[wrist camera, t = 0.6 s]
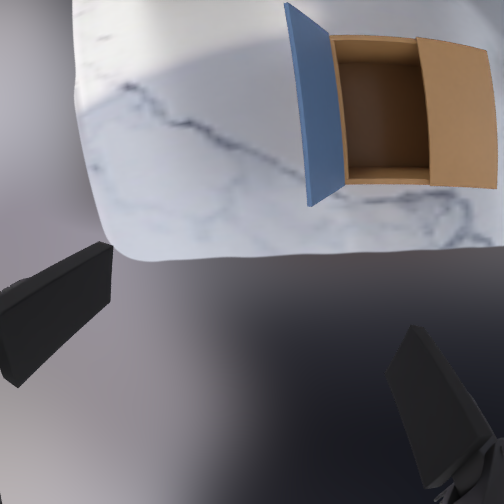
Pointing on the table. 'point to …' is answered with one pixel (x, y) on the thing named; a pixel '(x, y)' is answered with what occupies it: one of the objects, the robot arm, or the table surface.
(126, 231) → the table surface
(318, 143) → the flap
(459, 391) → the robot arm
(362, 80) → the carton
